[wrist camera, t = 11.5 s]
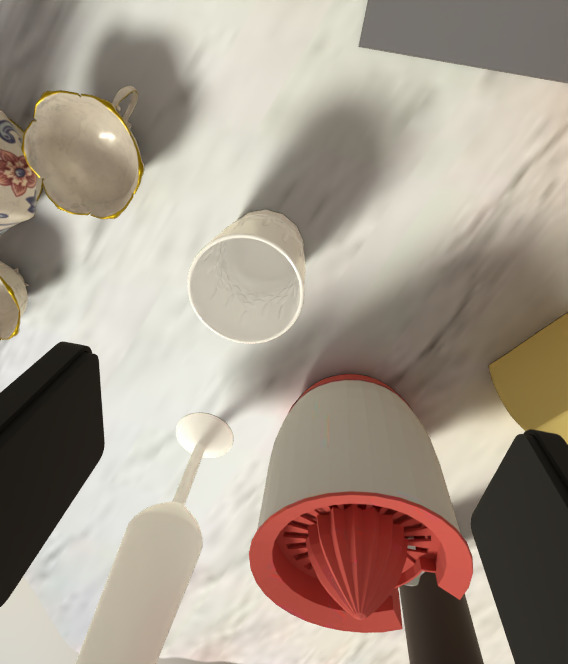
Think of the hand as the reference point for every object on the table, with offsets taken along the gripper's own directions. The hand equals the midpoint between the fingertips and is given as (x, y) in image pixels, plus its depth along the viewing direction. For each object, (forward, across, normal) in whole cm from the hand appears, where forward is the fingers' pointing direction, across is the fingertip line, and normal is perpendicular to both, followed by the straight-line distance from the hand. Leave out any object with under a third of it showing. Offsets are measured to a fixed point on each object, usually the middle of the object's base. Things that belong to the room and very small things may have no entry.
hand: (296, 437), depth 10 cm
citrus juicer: (+29, -8, +22) cm, 37 cm away
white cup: (+29, +4, +5) cm, 29 cm away
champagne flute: (+28, +8, +28) cm, 41 cm away
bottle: (+28, -20, +38) cm, 52 cm away
